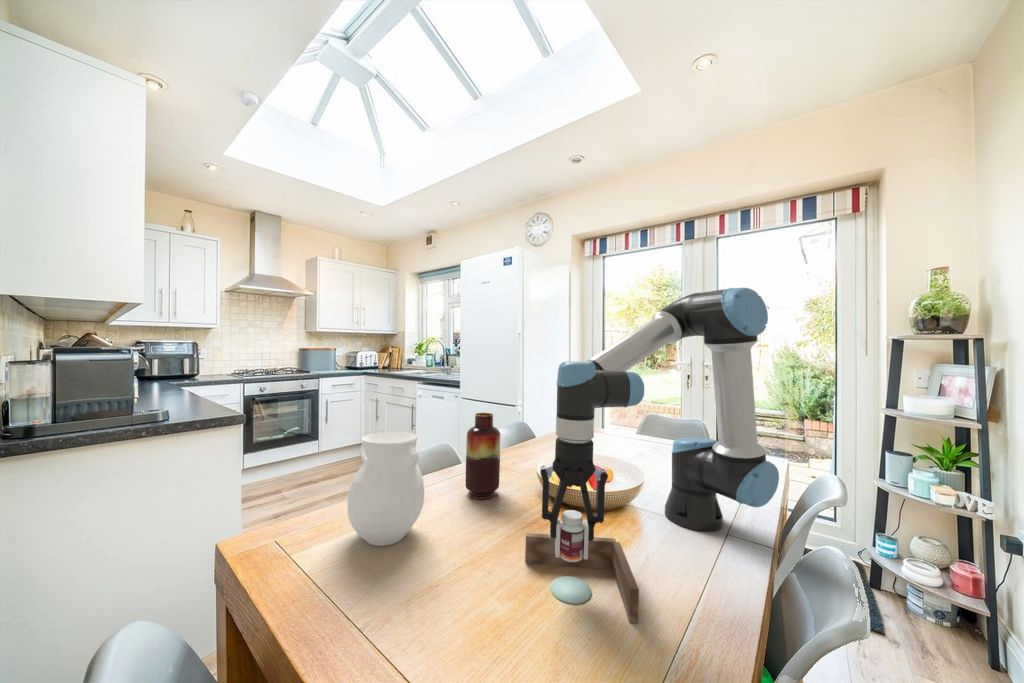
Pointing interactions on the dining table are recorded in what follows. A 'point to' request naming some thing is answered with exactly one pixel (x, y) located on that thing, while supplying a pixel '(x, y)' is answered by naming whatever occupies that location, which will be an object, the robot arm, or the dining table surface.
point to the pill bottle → (571, 536)
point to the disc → (571, 590)
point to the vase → (482, 458)
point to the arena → (591, 564)
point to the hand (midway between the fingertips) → (571, 554)
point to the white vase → (386, 488)
